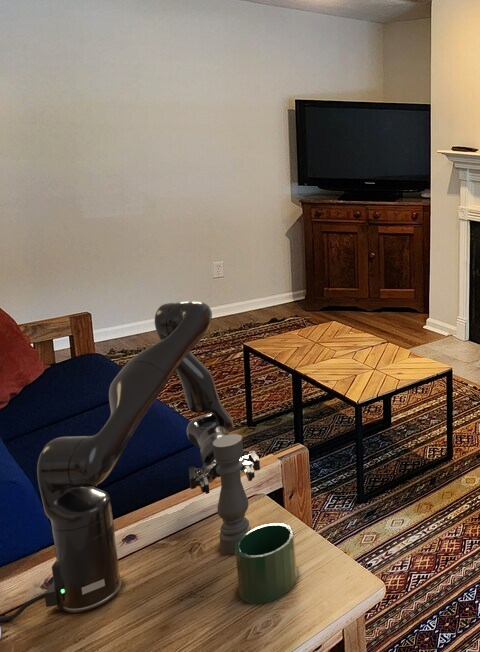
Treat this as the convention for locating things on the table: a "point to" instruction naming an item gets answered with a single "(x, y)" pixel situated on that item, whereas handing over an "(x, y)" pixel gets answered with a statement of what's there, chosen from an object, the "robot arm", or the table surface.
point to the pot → (266, 563)
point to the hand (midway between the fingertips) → (229, 483)
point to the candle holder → (231, 491)
